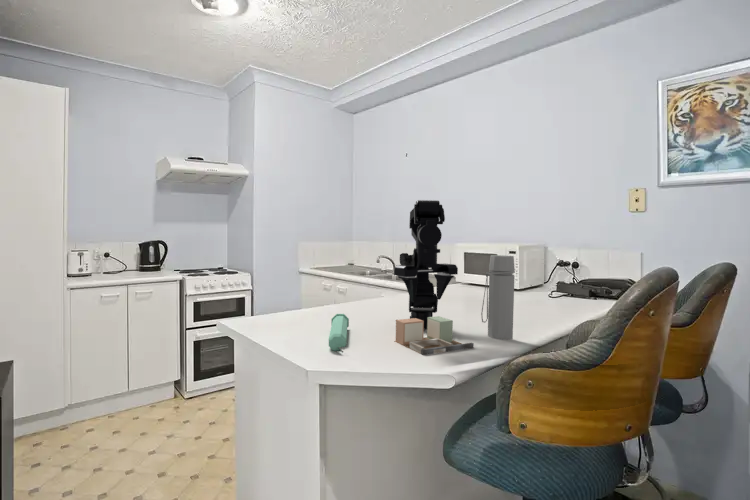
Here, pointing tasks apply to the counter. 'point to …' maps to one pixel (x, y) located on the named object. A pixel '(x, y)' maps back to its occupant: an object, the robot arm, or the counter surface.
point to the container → (338, 332)
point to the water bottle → (500, 297)
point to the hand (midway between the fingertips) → (425, 300)
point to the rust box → (409, 330)
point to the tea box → (439, 328)
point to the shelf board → (436, 346)
